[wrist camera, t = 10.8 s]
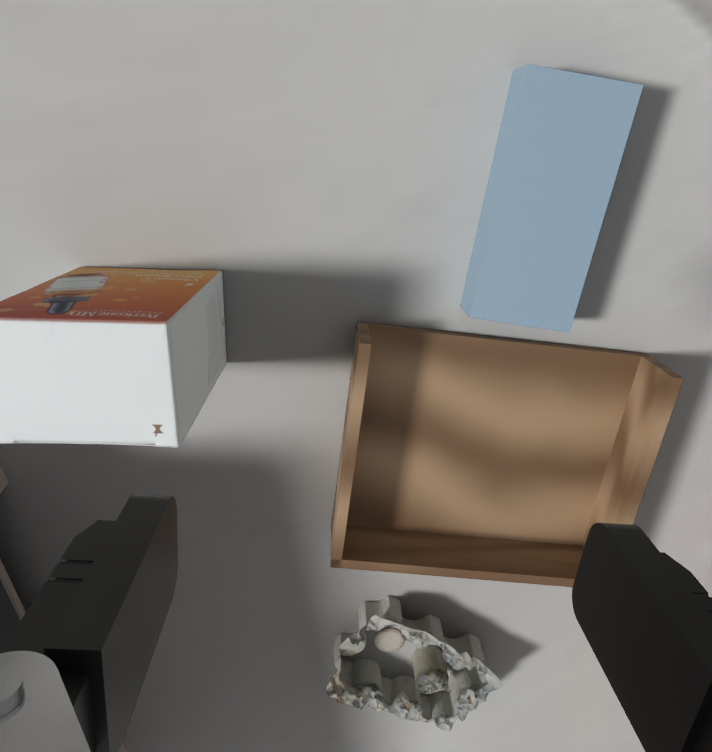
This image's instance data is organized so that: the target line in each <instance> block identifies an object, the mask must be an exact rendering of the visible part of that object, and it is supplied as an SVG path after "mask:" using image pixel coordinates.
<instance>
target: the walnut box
mask: <svg viewBox="0 0 712 752" xmlns="http://www.w3.org/2000/svg"><path fill="white" fill-rule="evenodd" d="M683 379H684V378H682V377H681V376H679V375H678V374H676V373H674V372H673V371H671V370H670V369H668V368H667V367H665V366H664V365H662V364H661V363H659V362H658V361H656V360H655V359H653V358H652V357H650V356H649V355H647V354H643V353H634V352H625V351H616V350H607V349H598V348H589V347H580V346H571V345H562V344H553V343H544V342H535V341H526V340H517V339H508V338H499V337H490V336H482V335H473V334H464V333H455V332H446V331H437V330H428V329H419V328H410V327H401V326H392V325H383V324H374V323H365V322H357V330H356V338H355V346H354V353H353V361H352V369H351V377H350V385H349V393H348V400H347V408H346V416H345V424H344V432H343V439H342V447H341V455H340V463H339V471H338V479H337V486H336V494H335V502H334V510H333V518H332V526H331V565H330V567H335V568H347V569H359V570H371V571H384V572H396V573H408V574H420V575H432V576H444V577H456V578H468V579H481V580H493V581H505V582H517V583H529V584H541V585H553V586H566V587H573V584H574V580H575V577H576V574H577V570H578V567H579V563H580V560H581V556H582V553H583V550H584V546H585V543H586V539H587V536H588V533H589V530H590V528H591V527H592V525H593V524H595V523H613V524H630V525H633V523H634V520H635V517H636V514H637V511H638V508H639V505H640V503H641V500H642V497H643V494H644V491H645V488H646V485H647V482H648V480H649V477H650V474H651V471H652V468H653V465H654V462H655V459H656V457H657V454H658V451H659V448H660V445H661V442H662V439H663V436H664V434H665V431H666V428H667V425H668V422H669V419H670V416H671V413H672V410H673V408H674V405H675V402H676V399H677V396H678V393H679V390H680V387H681V385H682V382H683Z"/></svg>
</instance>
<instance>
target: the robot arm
mask: <svg viewBox="0 0 712 752" xmlns="http://www.w3.org/2000/svg"><path fill="white" fill-rule="evenodd" d="M177 562H178V561H177V509H176V500H175V497H172V496H155V495H138V494H133V495H131V496H130V498H129V500H128V501H127V503H126V505H125V507H124V508H123V510H122V512H121V514H120V515H119V517H118V519H117V521H103V520H98V521H97V522H95V523H94V524H93V525H91V526H90V527H89V528H87V529H86V530H84V531H83V532H82V533H80V534H79V535H78V536H76V537H75V538H74V539H73V541H72V543H71V544H70V546H69V547H68V549H67V550H66V552H65V553H64V555H63V556H62V558H61V561H60V564H57V566H56V567H55V569H54V570H53V572H52V573H51V575H50V576H49V580H48V582H45V584H44V586H43V587H42V589H41V590H40V592H39V593H38V595H37V596H36V598H35V599H34V601H33V602H32V604H31V605H30V607H29V609H28V610H27V612H26V613H25V615H24V616H23V618H22V619H21V621H20V622H19V624H18V625H17V627H16V628H15V630H14V632H13V633H12V635H11V636H10V638H9V639H8V641H7V642H6V644H5V645H4V647H3V648H2V650H1V651H0V752H119V750H120V747H121V744H122V741H123V738H124V735H125V733H126V730H127V727H128V724H129V721H130V718H131V715H132V712H133V710H134V707H135V704H136V701H137V698H138V695H139V692H140V690H141V687H142V684H143V681H144V678H145V675H146V672H147V669H148V667H149V664H150V661H151V658H152V655H153V652H154V649H155V647H156V644H157V641H158V638H159V635H160V632H161V629H162V626H163V624H164V621H165V618H166V615H167V612H168V609H169V606H170V604H171V601H172V598H173V594H174V589H175V584H176V577H177ZM572 602H573V609H574V613H575V616H576V618H577V621H578V623H579V624H580V626H581V628H582V630H583V632H584V634H585V636H586V638H587V640H588V642H589V644H590V646H591V648H592V649H593V651H594V653H595V655H596V657H597V659H598V661H599V663H600V665H601V667H602V669H603V671H604V673H605V675H606V676H607V678H608V680H609V682H610V684H611V686H612V688H613V690H614V692H615V694H616V696H617V698H618V700H619V701H620V703H621V705H622V707H623V709H624V711H625V713H626V715H627V717H628V719H629V721H630V723H631V725H632V726H633V728H634V730H635V732H636V734H637V736H638V738H639V740H640V742H641V744H642V746H643V748H644V750H645V752H712V597H709V596H708V592H707V591H706V590H705V589H704V587H703V586H702V585H701V584H700V583H699V581H698V580H697V579H696V578H695V577H694V576H693V574H692V573H691V572H690V571H689V570H687V569H686V568H685V567H683V566H682V565H680V564H679V563H678V562H676V561H675V560H674V559H672V558H671V557H670V556H668V555H667V554H665V553H660V552H659V551H658V549H657V548H656V547H655V546H654V544H653V543H652V542H651V541H650V539H649V538H648V537H647V536H646V535H645V533H644V532H643V531H642V530H641V529H640V528H639V527H638V526H636V525H630V524H613V523H595V524H593V525H592V527H591V528H590V530H589V533H588V536H587V539H586V543H585V546H584V550H583V553H582V556H581V560H580V563H579V567H578V570H577V574H576V577H575V580H574V584H573V590H572Z"/></svg>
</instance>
